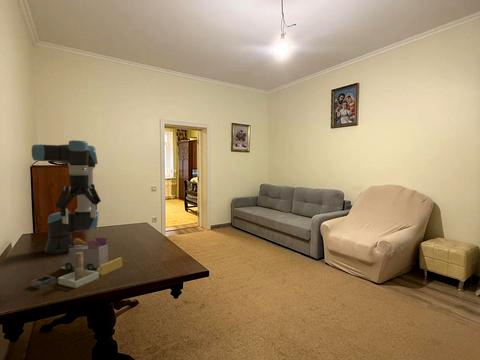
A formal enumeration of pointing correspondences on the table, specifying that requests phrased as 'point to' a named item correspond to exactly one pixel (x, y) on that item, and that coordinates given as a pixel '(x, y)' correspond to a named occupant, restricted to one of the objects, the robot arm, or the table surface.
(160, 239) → the table surface
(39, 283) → the socket
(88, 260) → the toy vehicle
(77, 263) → the pin
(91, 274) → the tray
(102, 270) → the block
